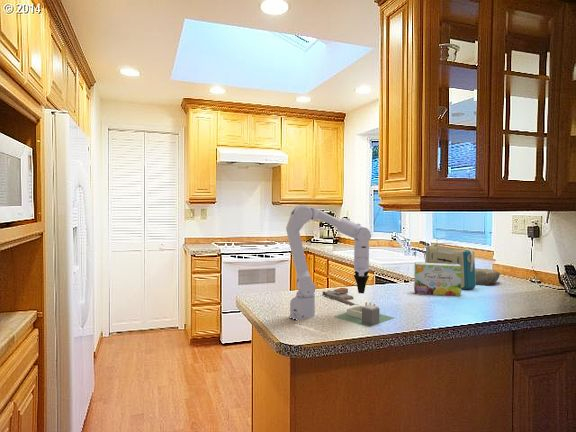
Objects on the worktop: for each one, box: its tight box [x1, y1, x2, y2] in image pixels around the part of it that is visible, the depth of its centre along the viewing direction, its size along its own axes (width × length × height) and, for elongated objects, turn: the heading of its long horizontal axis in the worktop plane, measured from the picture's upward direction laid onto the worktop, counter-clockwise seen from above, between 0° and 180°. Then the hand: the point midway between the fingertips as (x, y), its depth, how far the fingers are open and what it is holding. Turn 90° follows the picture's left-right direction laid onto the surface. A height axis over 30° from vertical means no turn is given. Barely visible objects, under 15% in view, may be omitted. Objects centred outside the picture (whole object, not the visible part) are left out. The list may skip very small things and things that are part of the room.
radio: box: [424, 237, 477, 291], centre depth 219 cm, size 30×8×25 cm, turn 25°
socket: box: [346, 304, 364, 319], centre depth 159 cm, size 8×8×2 cm
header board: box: [333, 312, 395, 328], centre depth 156 cm, size 16×17×1 cm
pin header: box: [364, 301, 376, 306], centre depth 162 cm, size 2×6×4 cm, turn 42°
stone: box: [475, 268, 501, 286], centre depth 224 cm, size 14×19×8 cm
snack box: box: [413, 261, 462, 297], centre depth 198 cm, size 21×6×15 cm, turn 76°
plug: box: [362, 304, 380, 326], centre depth 148 cm, size 4×4×6 cm
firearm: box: [321, 287, 359, 307], centre depth 188 cm, size 29×2×15 cm
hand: (361, 290), depth 160 cm, fingers open, 7 cm apart
